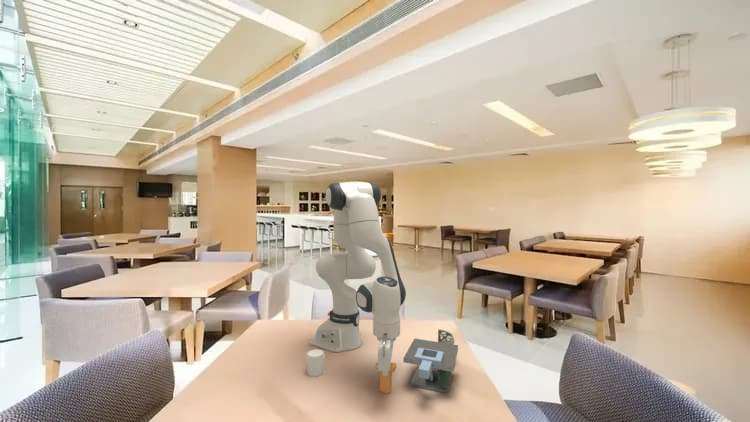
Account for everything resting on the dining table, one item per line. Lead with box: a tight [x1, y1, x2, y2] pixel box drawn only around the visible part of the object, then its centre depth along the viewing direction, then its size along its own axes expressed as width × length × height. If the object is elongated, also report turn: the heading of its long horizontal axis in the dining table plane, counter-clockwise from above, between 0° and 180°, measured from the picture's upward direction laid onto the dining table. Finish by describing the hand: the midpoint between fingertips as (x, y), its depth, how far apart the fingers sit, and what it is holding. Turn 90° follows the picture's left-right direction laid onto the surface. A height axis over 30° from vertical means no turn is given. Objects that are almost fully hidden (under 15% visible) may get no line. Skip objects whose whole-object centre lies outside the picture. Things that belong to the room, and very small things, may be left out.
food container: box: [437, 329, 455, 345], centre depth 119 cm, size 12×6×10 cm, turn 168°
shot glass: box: [305, 348, 326, 377], centre depth 110 cm, size 7×7×7 cm
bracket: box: [414, 348, 444, 379], centre depth 98 cm, size 8×13×3 cm, turn 160°
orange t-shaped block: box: [375, 361, 397, 394], centre depth 100 cm, size 6×3×8 cm, turn 70°
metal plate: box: [403, 338, 459, 395], centre depth 106 cm, size 16×16×10 cm
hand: (386, 370), depth 100 cm, fingers closed on orange t-shaped block, 3 cm apart
